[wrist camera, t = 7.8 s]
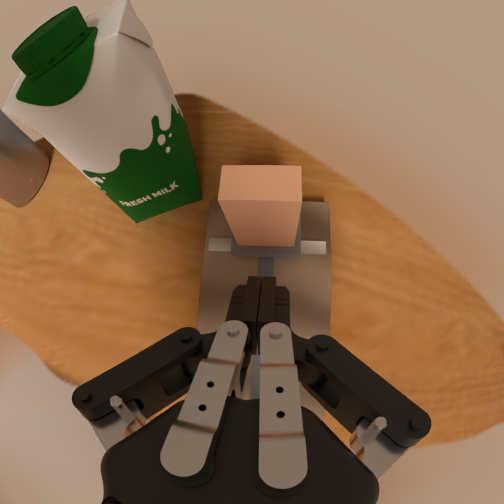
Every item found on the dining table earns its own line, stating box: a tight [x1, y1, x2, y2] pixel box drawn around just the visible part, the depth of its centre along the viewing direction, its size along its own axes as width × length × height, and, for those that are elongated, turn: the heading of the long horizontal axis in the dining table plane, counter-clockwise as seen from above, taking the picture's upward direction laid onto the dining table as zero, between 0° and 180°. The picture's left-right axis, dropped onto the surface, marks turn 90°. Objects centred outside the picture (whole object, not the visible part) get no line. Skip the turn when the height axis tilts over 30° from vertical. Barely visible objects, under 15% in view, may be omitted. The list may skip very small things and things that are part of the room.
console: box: [197, 200, 331, 421], centre depth 21 cm, size 18×10×2 cm, turn 177°
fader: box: [218, 165, 302, 258], centre depth 17 cm, size 3×5×8 cm, turn 87°
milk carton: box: [2, 0, 202, 223], centre depth 16 cm, size 9×9×20 cm
